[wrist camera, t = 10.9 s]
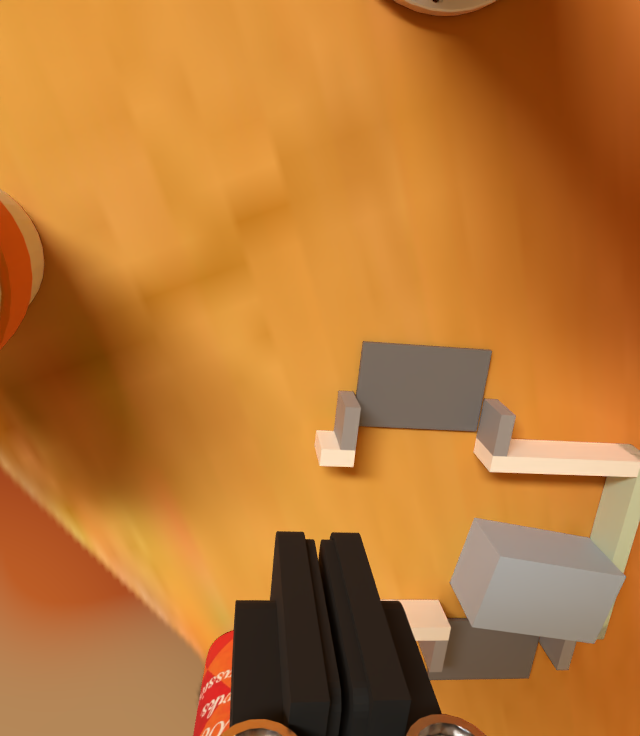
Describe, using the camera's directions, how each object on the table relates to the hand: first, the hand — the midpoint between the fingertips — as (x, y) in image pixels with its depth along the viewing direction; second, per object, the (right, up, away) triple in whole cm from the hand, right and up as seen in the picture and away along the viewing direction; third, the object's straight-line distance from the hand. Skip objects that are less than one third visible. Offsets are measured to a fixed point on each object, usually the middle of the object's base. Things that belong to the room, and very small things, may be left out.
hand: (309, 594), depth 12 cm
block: (+16, -11, +34) cm, 39 cm away
